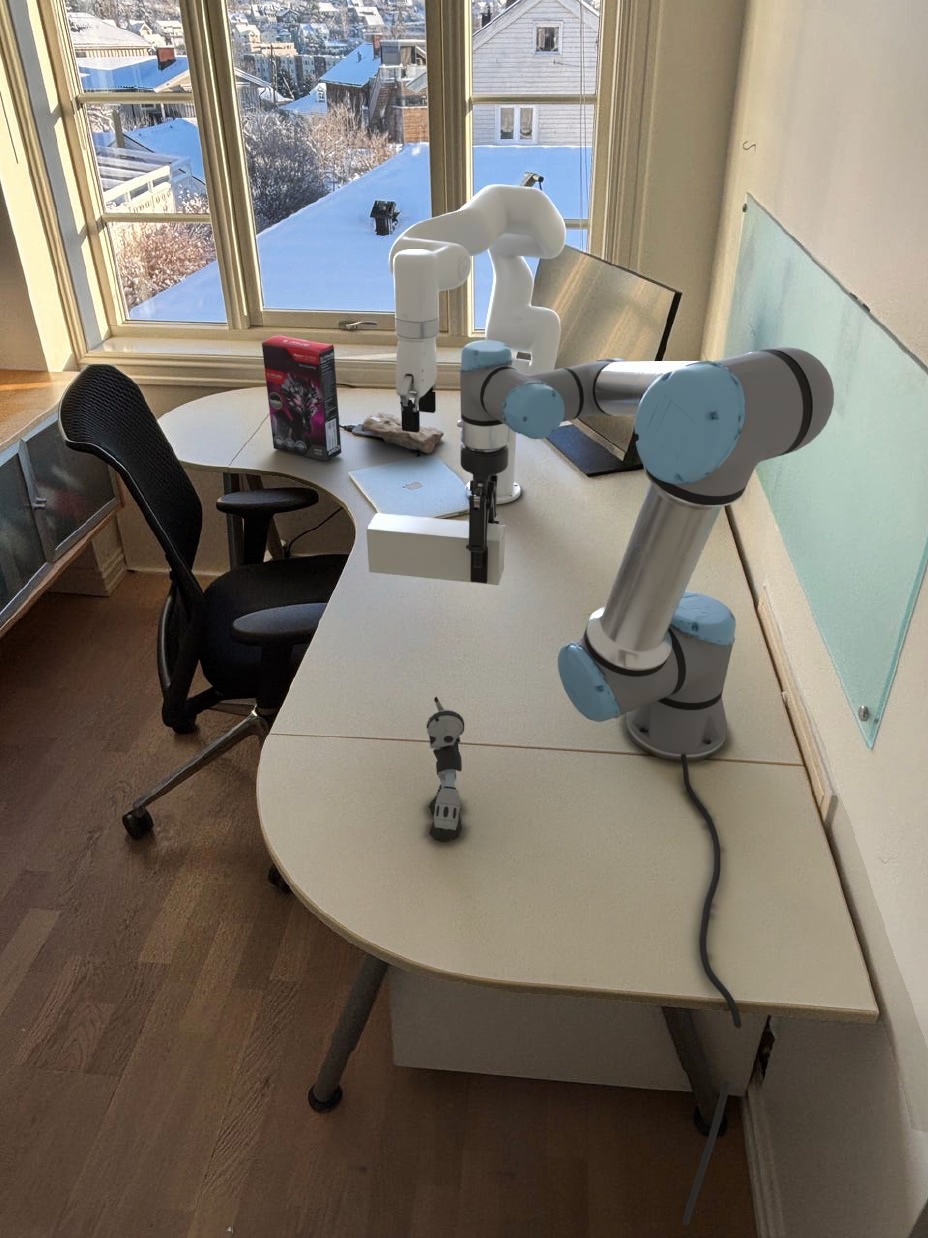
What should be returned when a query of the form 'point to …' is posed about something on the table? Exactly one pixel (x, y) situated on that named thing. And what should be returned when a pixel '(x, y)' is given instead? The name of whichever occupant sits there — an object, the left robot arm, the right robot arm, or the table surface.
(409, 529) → the bar
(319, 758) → the table surface
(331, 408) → the graphics card box
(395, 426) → the stone
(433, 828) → the robot
